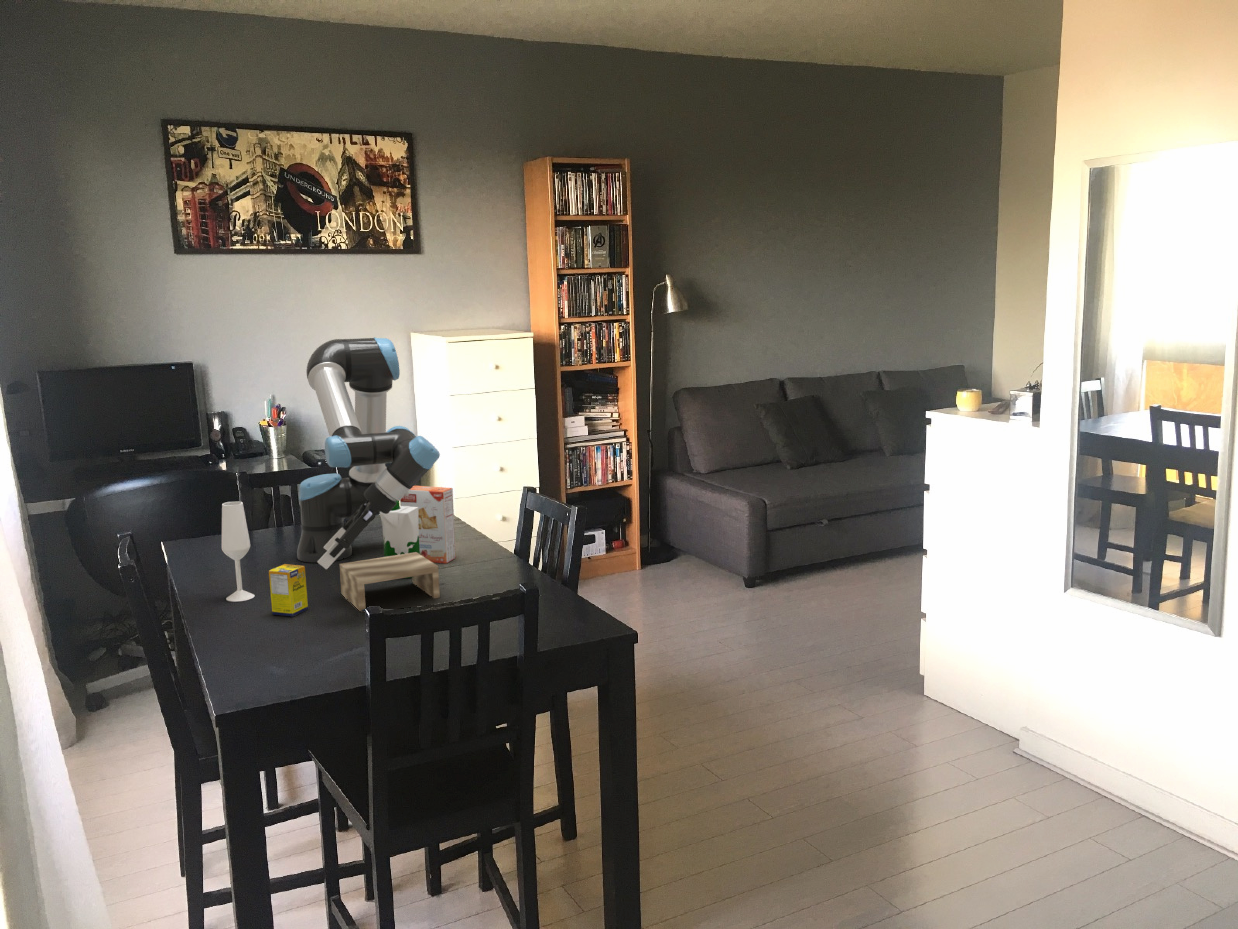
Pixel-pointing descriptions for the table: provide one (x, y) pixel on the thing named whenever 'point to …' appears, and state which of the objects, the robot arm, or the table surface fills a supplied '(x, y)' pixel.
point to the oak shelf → (387, 575)
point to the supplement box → (288, 590)
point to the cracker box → (434, 521)
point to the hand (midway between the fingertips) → (324, 558)
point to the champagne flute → (235, 542)
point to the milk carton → (400, 530)
